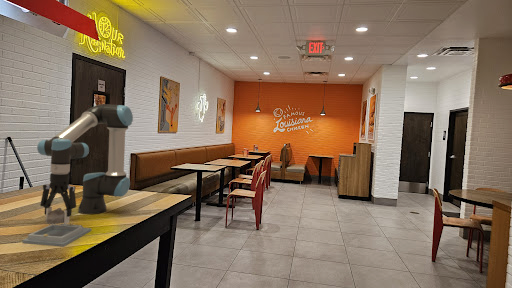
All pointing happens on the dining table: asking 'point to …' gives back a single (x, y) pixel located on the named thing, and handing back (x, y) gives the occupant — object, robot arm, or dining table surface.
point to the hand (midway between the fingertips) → (57, 222)
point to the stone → (55, 217)
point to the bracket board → (57, 235)
